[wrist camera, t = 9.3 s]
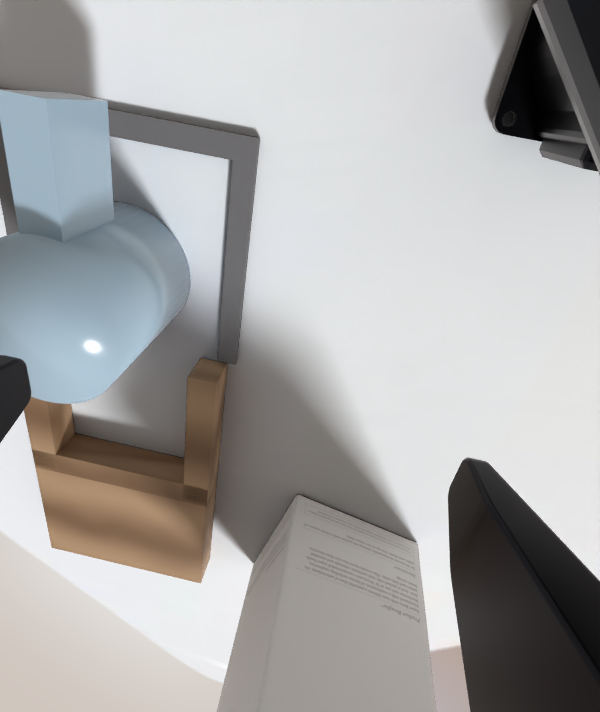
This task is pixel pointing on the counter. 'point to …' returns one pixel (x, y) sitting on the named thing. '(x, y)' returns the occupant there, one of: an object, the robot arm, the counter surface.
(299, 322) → the counter surface
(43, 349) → the jug
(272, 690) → the supplement box
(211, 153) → the frame
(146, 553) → the cradle
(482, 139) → the counter surface
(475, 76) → the counter surface
